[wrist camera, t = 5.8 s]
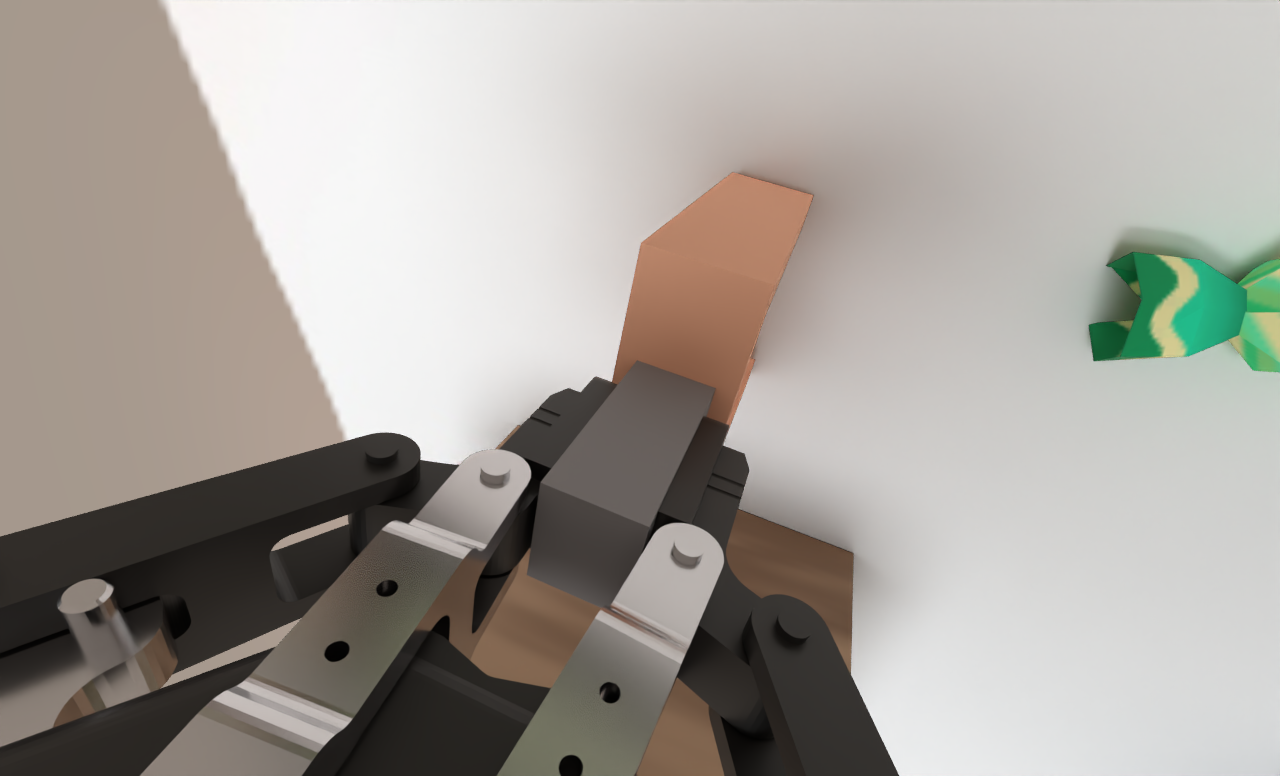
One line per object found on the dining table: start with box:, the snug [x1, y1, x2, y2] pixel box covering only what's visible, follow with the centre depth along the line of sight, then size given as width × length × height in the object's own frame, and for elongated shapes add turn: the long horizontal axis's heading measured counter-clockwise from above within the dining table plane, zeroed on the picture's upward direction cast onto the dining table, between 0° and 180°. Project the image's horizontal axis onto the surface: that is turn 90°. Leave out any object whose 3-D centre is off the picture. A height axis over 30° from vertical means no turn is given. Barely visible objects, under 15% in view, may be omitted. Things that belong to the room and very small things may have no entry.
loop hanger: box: [527, 172, 814, 608], centre depth 17 cm, size 8×3×15 cm, turn 168°
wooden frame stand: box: [471, 425, 854, 776], centre depth 28 cm, size 20×18×16 cm
